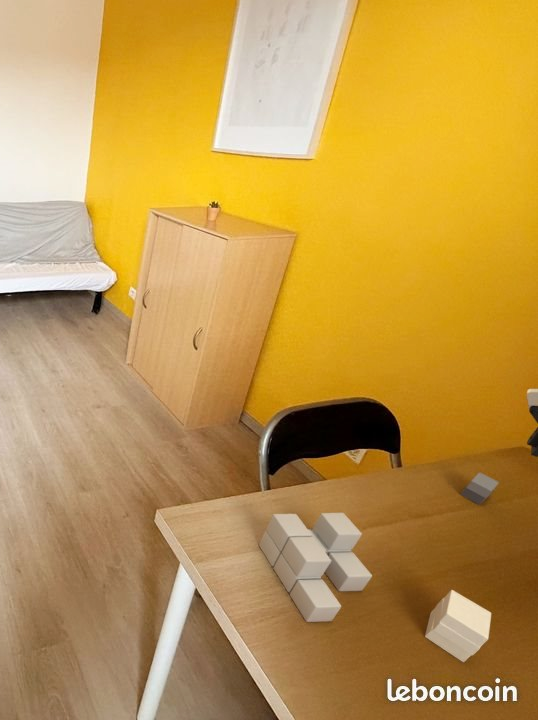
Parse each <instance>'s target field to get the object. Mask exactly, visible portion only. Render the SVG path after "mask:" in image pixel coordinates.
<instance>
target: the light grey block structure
mask: <svg viewBox="0 0 538 720" xmlns="http://www.w3.org/2000/svg"><path fill="white" fill-rule="evenodd" d="M362 535H363V533H362V532H361V531H360V529H358V527H356V525H355V524H354V523H353V522H352V521H351V519H350V518H349V517H348V516H347V515H346V514H345V513H344V512H321V513H320V515H319V517H318V518H317V520H316V522H315V524H314V525H313V527H312V529H308V528H307V526H306V525H305V524H304V522H303V521H302V520H301V518H300V517H299V516H298V514H297V513H274V514H272V516H271V518H270V520H269V522H268V525H267V526H266V530H265V531H264V533H263V535H262V537H261V539H260V541H259V543H258V546H259V549H260V550H261V551H262V554H264V556H265V558H266V559H267V561H268V563H269V565H270V566H271V567H272V569H273V571H274V572H275V574H276V575H277V577H278V578H279V580H280V582H281V583H282V585H283V587H284V588H285V590H286V592H287V593H289V596H290V598H291V599H292V601H293V603H294V604H295V606H296V607H297V609H298V611H299V612H300V614H301V616H302V617H303V619H304V620H305V622H307V623H314V622H317V623H318V622H333V620H334V618H335V617H336V615H337V614H338V613H339V611H340V610H341V608H342V605H341V603H340V601H339V600H338V599H337V598H336V596H335V595H334V593H333V592H332V591H331V589H330V587H329V586H328V585H327V583H326V582H325V581H324V580H323V579H322V576H323V575H324V574H325V575H326V576H327V577H328V579H329V580H330V582H331V583H332V585H333V586H334V587H335V588H336V590H337V591H338V592H359V591H363V590H364V589H365V587H366V586H367V585H368V583H369V582H370V580H371V579H372V578H373V575H372V573H371V572H370V571H369V570H368V568H366V566H365V565H364V563H363V562H362V561H361V560H360V558H359V557H357V555H356V554H355V553H354V552H353V551H352V550H353V549H354V548H355V546H356V545H357V543H358V542H359V540H360V538H361V536H362Z"/></svg>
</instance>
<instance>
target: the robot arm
mask: <svg viewBox="0 0 538 720" xmlns="http://www.w3.org/2000/svg"><path fill="white" fill-rule="evenodd" d="M526 401H527V405H528V412H529V414H530V415H531V416H532V419H534V420H535V422H536V423H537V424H538V388H529V389H527V390H526ZM526 445H528V446H530V456H533V457H536V458H538V426H537V427H536V428H535V430H534V431H533V433H532V434H531V435H530V436H529V437H528V439H527V441H526Z"/></svg>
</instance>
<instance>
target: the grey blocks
mask: <svg viewBox="0 0 538 720" xmlns="http://www.w3.org/2000/svg"><path fill="white" fill-rule="evenodd" d="M499 484H500V481H497V480H495V479H493V478H491V477H490V476H488V475H485V474H484V473H482V472H478V473H477V474H476V475H475V476H474V477H473V478H472V479H471V480H470V482H469V483H468V484H467V485H466V486H465V487H464V489H463V490H462V491H461V492H460V495H461V496H462V497H464V498H466V499H468V500H469V501H471V502H473V503H475V504H476V505H478V506H481V504H483V502H485V501H486V500H488V498H489V497H490V496H491V495H492V494H493V493H494V492H495V489H496V487H497V486H498V485H499Z"/></svg>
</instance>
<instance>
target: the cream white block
mask: <svg viewBox="0 0 538 720" xmlns="http://www.w3.org/2000/svg"><path fill="white" fill-rule="evenodd" d="M443 598H444V602H443V607H442V611H441V616H440V620H439V621H440V622H441V623H443V624H444V625H446V626H448V627H449V628H451V629H452V630H454V631H455V632H457V633H459V634H460V635H462V636H463V637H465V638H466V639H468V640H470V641H471V642H473V643H474V644H476V645H477V646H479V647H482V646H483V645H484V644H485V643H486V642H487V641H488V640H489V637H490V636H489V635H490V629H491V619H492V612H490V611H489V610H487V609H485V608H484V607H483V606H481V605H480V604H477V603H475V602H474V601H472V600H470V599H469V598H467V597H465V596H463V595H462V594H460V593H459V592H457V591H455V590H453V589H451V590H450V591H449V592H448V593H447V594H446V595H445V596H444V597H443Z"/></svg>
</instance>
